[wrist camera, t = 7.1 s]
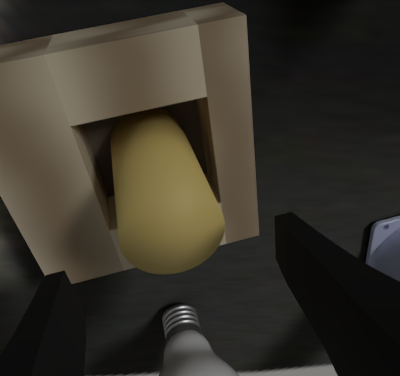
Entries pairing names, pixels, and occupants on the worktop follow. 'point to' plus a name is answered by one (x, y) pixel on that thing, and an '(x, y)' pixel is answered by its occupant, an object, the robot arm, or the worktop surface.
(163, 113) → the dowel
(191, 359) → the lightbulb
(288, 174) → the worktop surface
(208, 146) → the socket block
